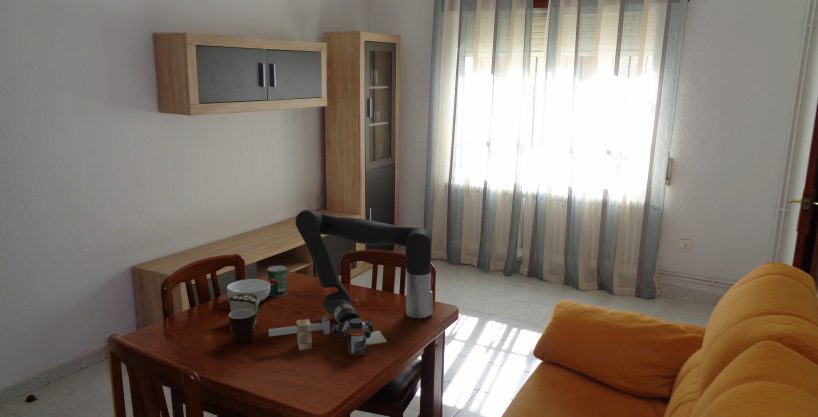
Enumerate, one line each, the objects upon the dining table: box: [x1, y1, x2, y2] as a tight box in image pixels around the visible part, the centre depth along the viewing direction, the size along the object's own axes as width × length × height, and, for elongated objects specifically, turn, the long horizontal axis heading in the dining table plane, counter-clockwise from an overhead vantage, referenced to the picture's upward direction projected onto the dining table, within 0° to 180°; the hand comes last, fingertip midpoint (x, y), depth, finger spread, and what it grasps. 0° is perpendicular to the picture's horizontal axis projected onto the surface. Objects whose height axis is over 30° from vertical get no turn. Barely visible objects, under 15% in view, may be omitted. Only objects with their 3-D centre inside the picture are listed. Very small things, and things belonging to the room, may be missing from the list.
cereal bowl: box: [226, 278, 270, 302], centre depth 239 cm, size 17×17×7 cm
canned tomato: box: [266, 264, 289, 298], centre depth 248 cm, size 8×8×11 cm
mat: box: [366, 330, 387, 346], centre depth 206 cm, size 9×9×1 cm
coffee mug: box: [228, 309, 255, 346], centre depth 204 cm, size 12×9×10 cm
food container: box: [227, 293, 260, 327], centre depth 220 cm, size 12×6×10 cm, turn 71°
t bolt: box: [267, 316, 331, 337], centre depth 198 cm, size 20×4×4 cm, turn 109°
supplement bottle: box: [347, 318, 367, 357], centre depth 195 cm, size 6×6×11 cm
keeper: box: [296, 318, 313, 351], centre depth 199 cm, size 4×5×9 cm
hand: (358, 337), depth 192 cm, fingers closed on supplement bottle, 6 cm apart
